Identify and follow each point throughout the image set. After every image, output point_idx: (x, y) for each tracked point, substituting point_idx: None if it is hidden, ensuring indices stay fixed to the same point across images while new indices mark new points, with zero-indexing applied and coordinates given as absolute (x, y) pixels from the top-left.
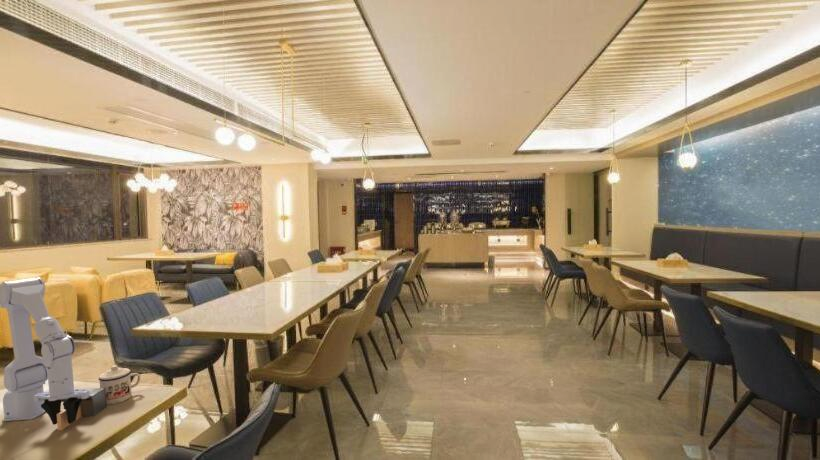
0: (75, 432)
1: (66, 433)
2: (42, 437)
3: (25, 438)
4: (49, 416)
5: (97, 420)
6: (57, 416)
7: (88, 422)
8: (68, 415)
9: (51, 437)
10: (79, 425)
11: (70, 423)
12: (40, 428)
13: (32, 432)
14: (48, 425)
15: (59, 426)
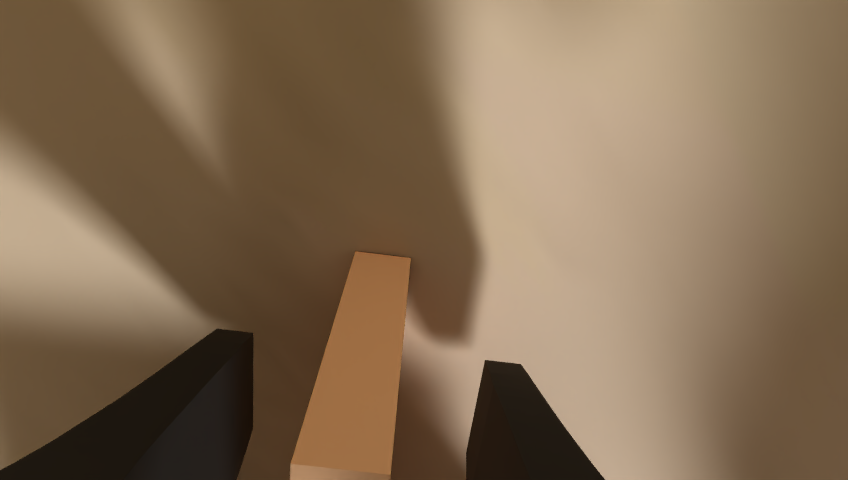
0: (51, 121)
1: (193, 124)
2: (545, 77)
3: (834, 118)
4: (597, 475)
5: (10, 425)
6: (376, 424)
7: (102, 400)
8: (128, 420)
9: (374, 32)
10: (174, 345)
11: (217, 329)
12: (730, 393)
13: (799, 301)
14: (654, 448)
15: (374, 287)
